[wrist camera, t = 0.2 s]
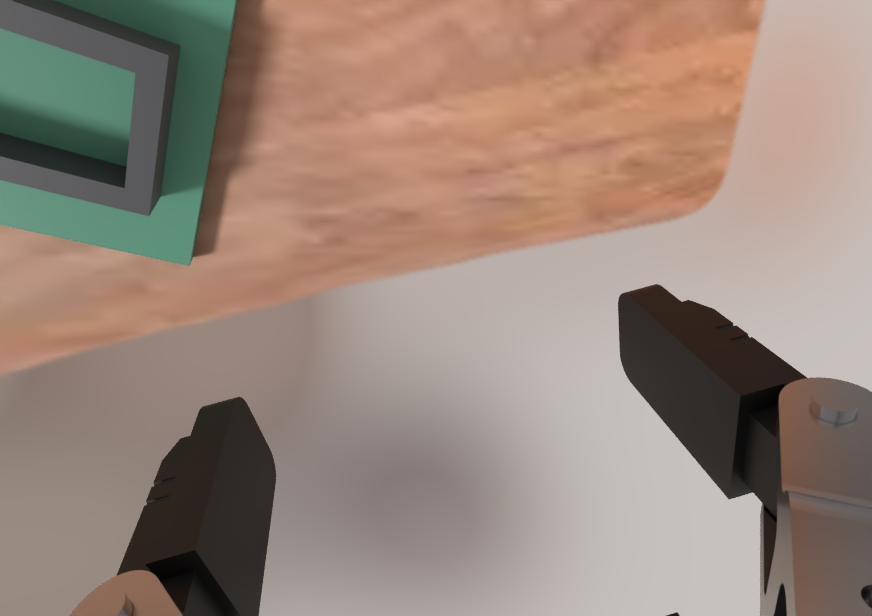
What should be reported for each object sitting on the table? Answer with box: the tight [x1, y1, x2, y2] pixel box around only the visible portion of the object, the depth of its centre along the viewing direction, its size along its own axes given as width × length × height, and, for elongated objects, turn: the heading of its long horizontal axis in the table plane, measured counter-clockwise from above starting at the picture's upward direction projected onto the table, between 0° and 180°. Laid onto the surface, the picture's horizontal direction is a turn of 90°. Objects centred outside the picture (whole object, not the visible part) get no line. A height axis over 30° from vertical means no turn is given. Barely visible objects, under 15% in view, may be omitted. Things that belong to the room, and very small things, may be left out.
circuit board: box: [0, 0, 238, 266], centre depth 24 cm, size 16×16×4 cm
